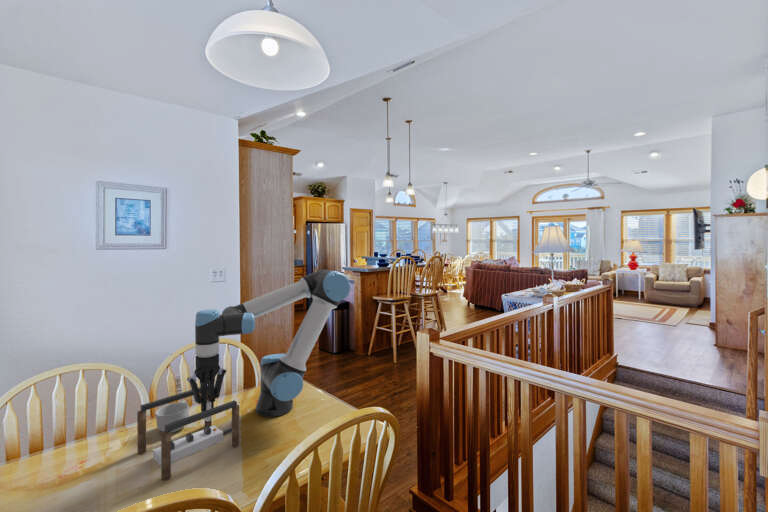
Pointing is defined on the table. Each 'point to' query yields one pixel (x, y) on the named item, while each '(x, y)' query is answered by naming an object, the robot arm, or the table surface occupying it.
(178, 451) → the switch strip
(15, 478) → the table surface
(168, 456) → the posts
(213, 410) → the cable
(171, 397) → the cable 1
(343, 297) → the robot arm
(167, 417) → the teacup
